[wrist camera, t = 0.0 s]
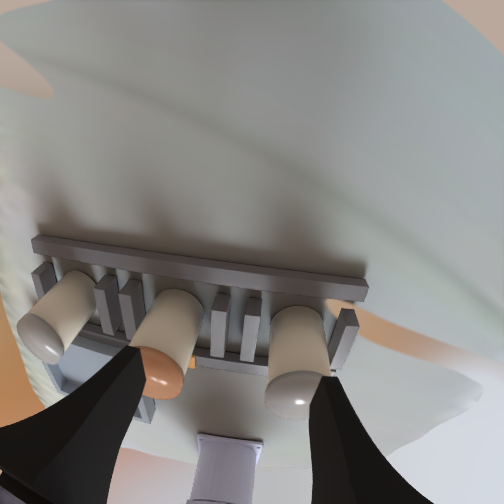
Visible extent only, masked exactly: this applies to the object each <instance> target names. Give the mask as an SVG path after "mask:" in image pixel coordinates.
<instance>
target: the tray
mask: <svg viewBox="0 0 504 504" xmlns="http://www.w3.org/2000/svg"><path fill="white" fill-rule="evenodd" d="M120 350H121V348H117V347H114V346H110V345H106V344H103V343H99V342H96V341H92V340H89V339H86V338H82V337H79V336H76V337H75V338H74V340H73V341H72V342H71V344H70V345H69V347H68V348H67V349H66V351H65V352H64V355H63V356H62V358H61V359H60V360H59V362H58V363H57V364H54V365H52V364H48V363H45V362H43V361H42V362H43V364H44V367H45V369H46V371H47V373H48V374H49V376H50V378H51V380H52V382H53V384H54V386H55V388H56V390H57V391H58V392H59V393H61V394H63V395H66V396H67V395H69V394H70V393H71V392H73V391H74V390H75V389H77V388H78V387H79V386H81V385H82V384H83V383H84V382H86V381H87V380H88V379H89V378H91V377H92V376H93V375H94V374H95V373H96V372H97V371H99V370H100V369H101V368H102V367H103V366H104V365H105V364H106V363H107V362H109V361H110V360H111V359H112V358H113V357H114V356H115V355H116V354H117V353H118V352H119V351H120ZM155 410H156V408H155V404H154V400H153V398H150V397H147V396H145V395H142V397H141V400H140V403H139V405H138V407H137V409H136V412H135V414H134V416H133V418H132V419H134V420H137V421H141V422H144V423H148V424H151V421H152V418H153V415H154V412H155Z"/></svg>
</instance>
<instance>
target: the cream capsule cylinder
mask: <svg viewBox="0 0 504 504" xmlns="http://www.w3.org/2000/svg"><path fill="white" fill-rule="evenodd" d="M322 376H331V370H330V363H329V356H328V350H327V343H326V337H325V331H324V325H323V320H322V318H321V316H320V315H319V314H318V313H317V312H316V311H315V310H313V309H311V308H308V307H304V306H292V307H288V308H285V309H283V310H281V311H280V312H278V313H277V314H276V315H275V316H274V317H273V319H272V321H271V324H270V340H269V358H268V374H267V387H266V392H265V406H266V408H267V409H268V410H269V412H271V413H272V414H274V415H275V416H278V417H280V418H284V419H289V420H304V419H309V405H310V403H311V400H312V398H313V396H314V394H315V391H316V389H317V387H318V384H319V382H320V380H321V377H322Z"/></svg>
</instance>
